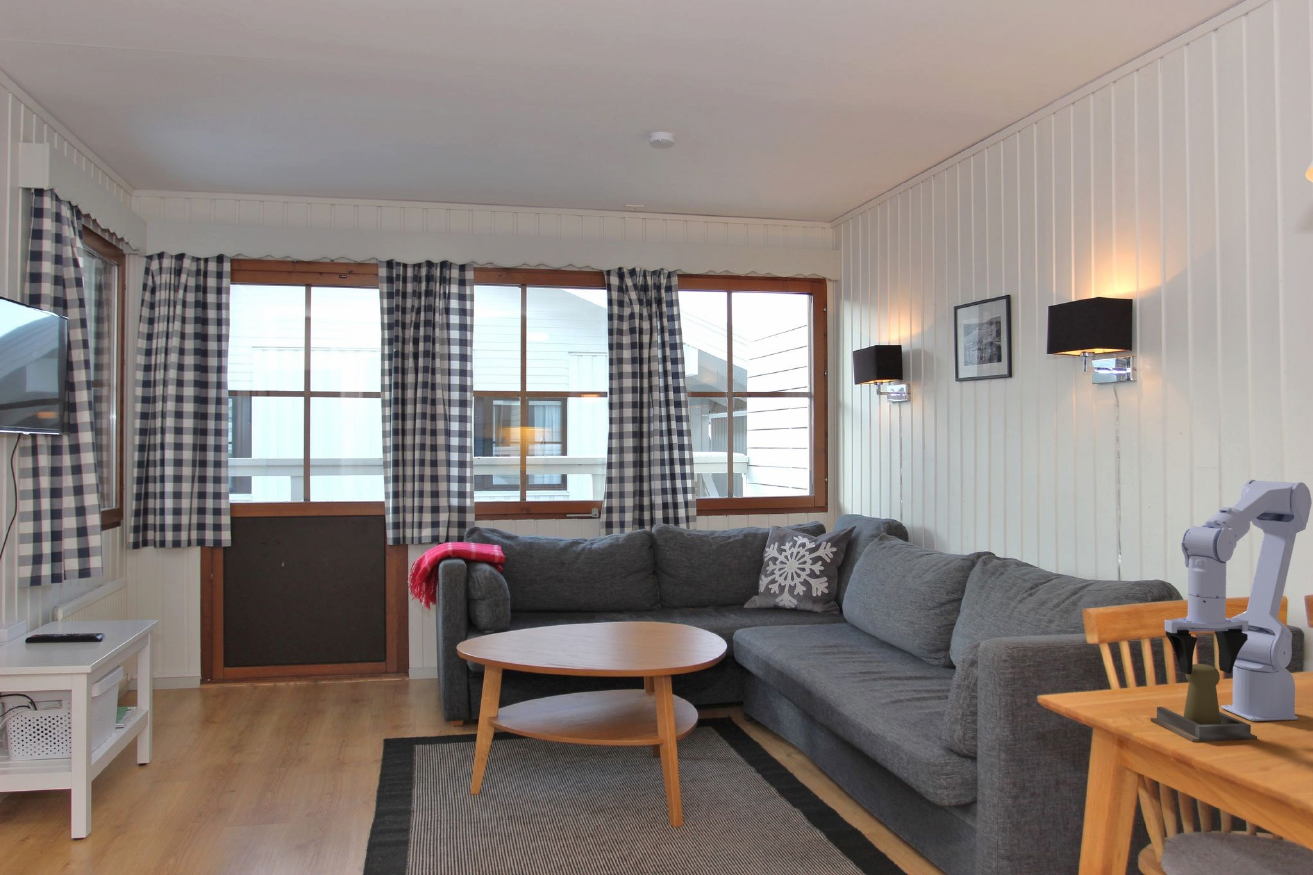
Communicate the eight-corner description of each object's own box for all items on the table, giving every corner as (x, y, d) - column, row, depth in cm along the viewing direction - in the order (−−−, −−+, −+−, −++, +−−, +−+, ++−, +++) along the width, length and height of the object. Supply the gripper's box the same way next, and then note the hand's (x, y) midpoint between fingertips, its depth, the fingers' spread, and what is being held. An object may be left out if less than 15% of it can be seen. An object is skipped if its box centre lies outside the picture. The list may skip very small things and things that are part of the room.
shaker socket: (1211, 718, 167) (1211, 705, 167) (1257, 739, 156) (1257, 724, 156) (1150, 720, 166) (1150, 707, 166) (1192, 741, 155) (1192, 727, 155)
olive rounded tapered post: (1227, 734, 157) (1228, 670, 157) (1189, 731, 159) (1190, 668, 158) (1213, 723, 163) (1214, 661, 163) (1177, 720, 165) (1177, 660, 164)
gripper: (1228, 590, 165) (1226, 665, 165) (1153, 591, 163) (1152, 667, 164) (1257, 597, 158) (1256, 675, 158) (1180, 599, 156) (1179, 678, 157)
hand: (1205, 672), depth 160 cm, fingers open, 7 cm apart
